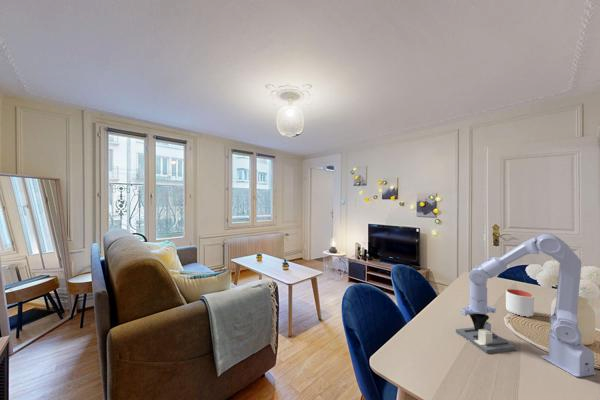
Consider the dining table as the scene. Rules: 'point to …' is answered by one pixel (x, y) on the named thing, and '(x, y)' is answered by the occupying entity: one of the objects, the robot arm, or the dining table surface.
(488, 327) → the grey switch
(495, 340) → the switch panel
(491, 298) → the dining table surface
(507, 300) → the cup
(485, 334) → the cream switch
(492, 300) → the dining table surface
